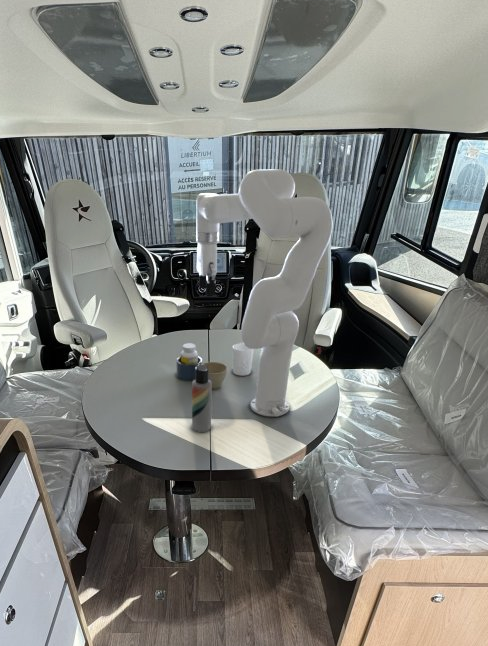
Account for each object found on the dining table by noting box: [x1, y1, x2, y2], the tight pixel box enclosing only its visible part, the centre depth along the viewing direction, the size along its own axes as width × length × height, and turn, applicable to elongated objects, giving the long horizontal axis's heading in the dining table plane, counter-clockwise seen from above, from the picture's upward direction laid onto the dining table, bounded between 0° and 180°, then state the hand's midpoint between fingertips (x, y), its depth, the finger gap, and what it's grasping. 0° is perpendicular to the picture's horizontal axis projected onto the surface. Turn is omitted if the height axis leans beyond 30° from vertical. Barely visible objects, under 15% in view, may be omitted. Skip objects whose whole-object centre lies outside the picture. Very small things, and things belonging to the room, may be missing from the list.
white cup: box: [232, 342, 255, 377], centre depth 165 cm, size 8×8×10 cm
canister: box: [175, 356, 203, 381], centre depth 164 cm, size 9×9×6 cm
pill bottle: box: [180, 342, 199, 365], centre depth 162 cm, size 6×6×11 cm
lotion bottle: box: [191, 363, 213, 433], centre depth 129 cm, size 6×6×20 cm
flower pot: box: [202, 361, 228, 390], centre depth 156 cm, size 10×10×7 cm
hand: (207, 291), depth 155 cm, fingers open, 9 cm apart
